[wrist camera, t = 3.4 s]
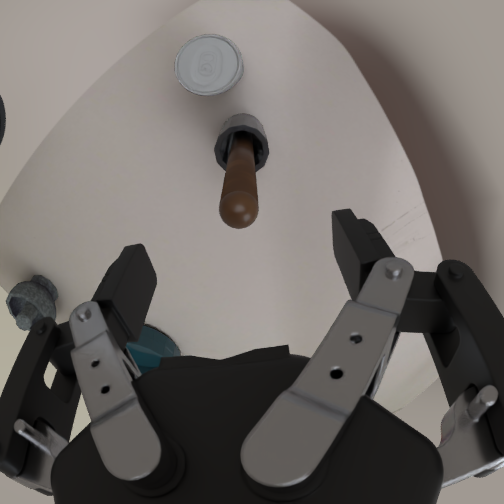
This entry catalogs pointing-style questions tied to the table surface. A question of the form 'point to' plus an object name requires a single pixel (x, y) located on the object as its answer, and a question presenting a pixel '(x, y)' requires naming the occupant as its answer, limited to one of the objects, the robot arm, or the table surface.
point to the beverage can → (208, 65)
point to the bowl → (151, 349)
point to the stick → (240, 184)
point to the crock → (239, 124)
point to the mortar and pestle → (32, 301)
